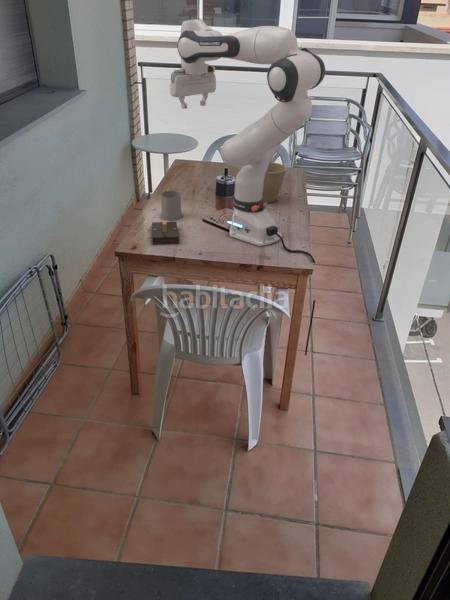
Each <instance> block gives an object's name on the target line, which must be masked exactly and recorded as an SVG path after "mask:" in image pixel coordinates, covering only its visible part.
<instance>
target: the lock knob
mask: <svg viewBox="0 0 450 600" xmlns="http://www.w3.org/2000/svg"><path fill="white" fill-rule="evenodd" d="M161 219H162V221H161V222H163V232H167V226H166V222H167V220H166V219H164V218H161Z"/></svg>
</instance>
